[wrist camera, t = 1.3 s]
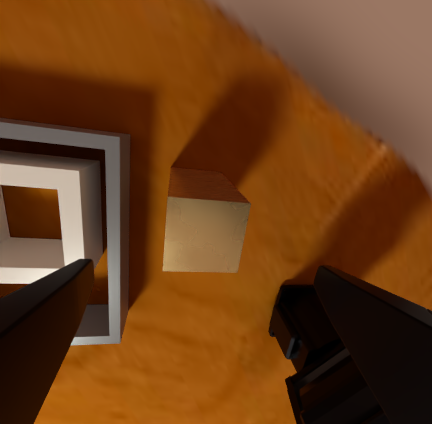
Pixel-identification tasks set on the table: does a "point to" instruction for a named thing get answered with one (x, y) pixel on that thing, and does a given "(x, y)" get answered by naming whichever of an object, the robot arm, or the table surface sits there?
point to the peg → (203, 222)
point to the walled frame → (72, 217)
